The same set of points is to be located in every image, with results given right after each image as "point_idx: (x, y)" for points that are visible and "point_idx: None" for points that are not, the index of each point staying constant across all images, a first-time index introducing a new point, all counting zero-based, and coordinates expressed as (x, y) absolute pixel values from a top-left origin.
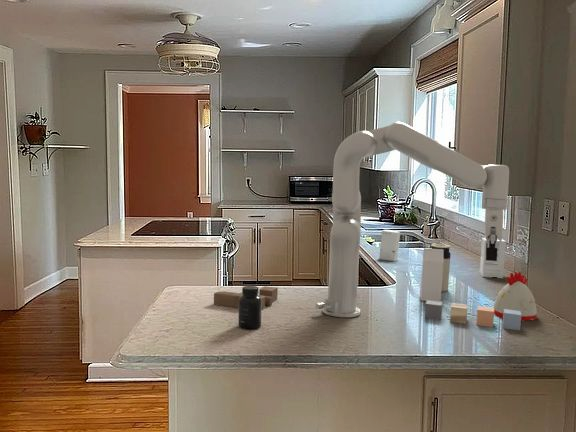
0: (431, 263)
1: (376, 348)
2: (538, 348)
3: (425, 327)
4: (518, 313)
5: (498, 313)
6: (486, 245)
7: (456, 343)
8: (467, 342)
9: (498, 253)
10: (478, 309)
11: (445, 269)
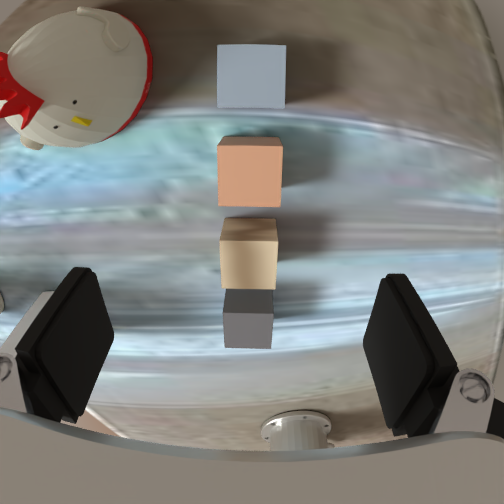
0: None
1: (477, 351)
2: (445, 44)
3: (354, 311)
4: (266, 54)
5: (125, 123)
6: (83, 404)
7: (457, 242)
8: (448, 219)
9: None
10: (273, 203)
11: None
